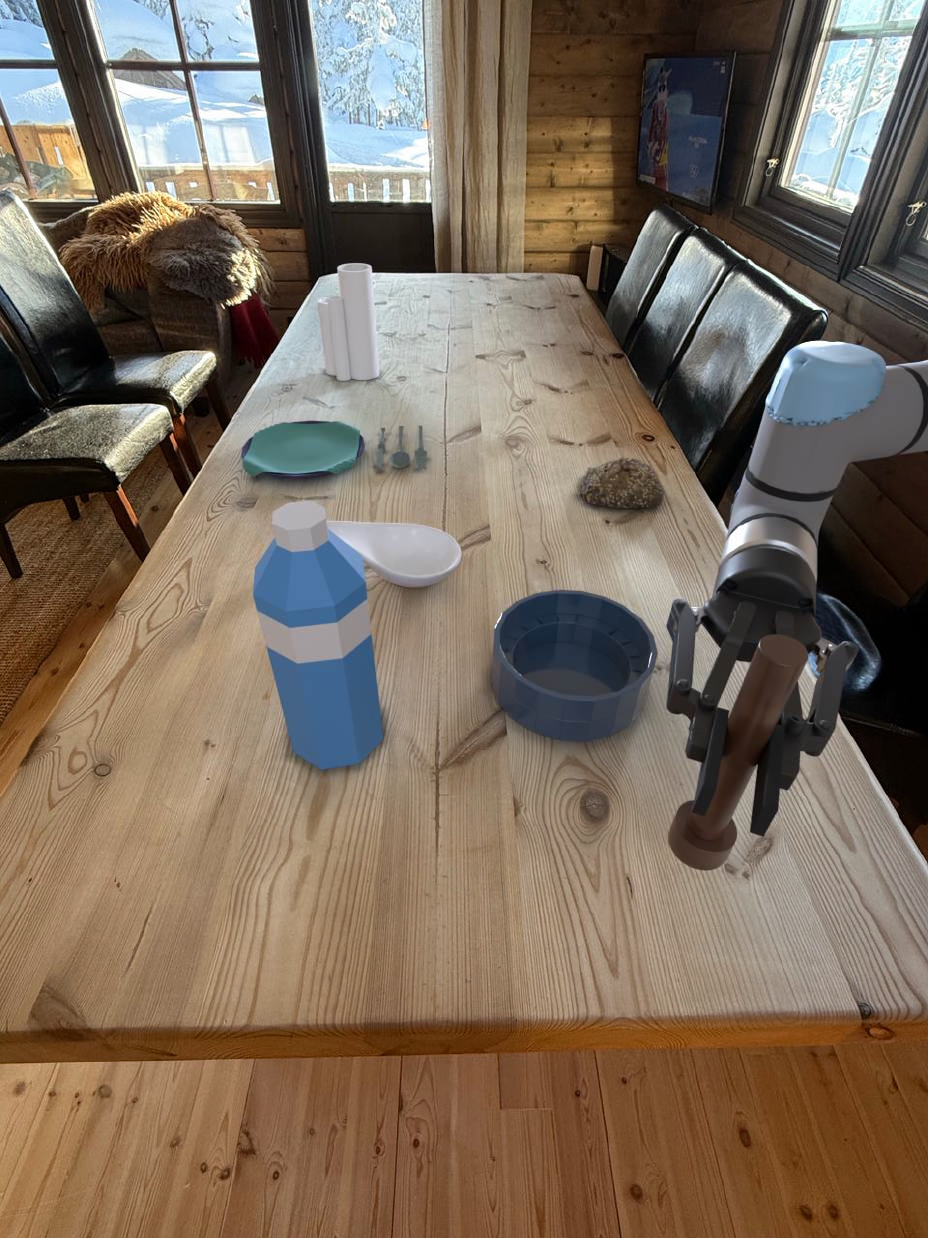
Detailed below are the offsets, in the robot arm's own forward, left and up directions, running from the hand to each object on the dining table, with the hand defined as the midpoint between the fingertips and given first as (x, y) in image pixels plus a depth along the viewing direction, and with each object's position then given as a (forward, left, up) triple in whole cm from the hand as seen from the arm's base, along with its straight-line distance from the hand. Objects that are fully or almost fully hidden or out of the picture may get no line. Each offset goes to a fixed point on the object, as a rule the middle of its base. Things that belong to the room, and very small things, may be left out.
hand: (733, 810), depth 38 cm
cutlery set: (+78, -38, -19) cm, 89 cm away
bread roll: (+37, -58, -19) cm, 71 cm away
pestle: (+1, -5, -12) cm, 13 cm away
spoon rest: (+51, -18, -19) cm, 57 cm away
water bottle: (+35, +2, -19) cm, 39 cm away
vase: (+103, -64, -19) cm, 122 cm away
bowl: (+21, -18, -18) cm, 33 cm away
